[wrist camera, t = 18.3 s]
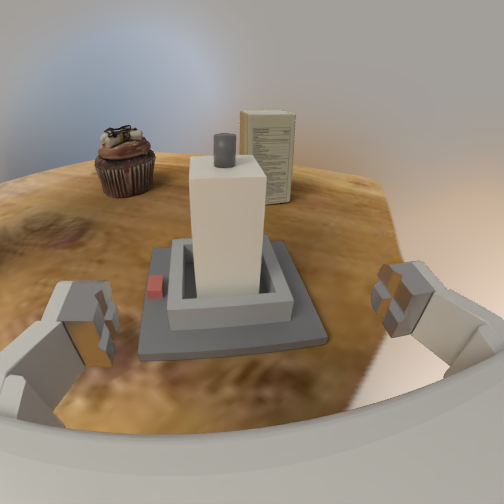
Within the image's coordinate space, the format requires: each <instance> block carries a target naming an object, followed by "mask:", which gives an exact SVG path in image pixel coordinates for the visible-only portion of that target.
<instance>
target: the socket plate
mask: <svg viewBox="0 0 504 504" xmlns="http://www.w3.org/2000/svg"><path fill="white" fill-rule="evenodd" d="M327 339H328V336H327V333H326V331H325V329H324V327H323V325H322V322H321V320H320V318H319V316H318V314H317V311H316V309H315V307H314V305H313V303H312V301H311V298H310V296H309V294H308V292H307V290H306V288H305V286H304V283H303V281H302V279H301V277H300V275H299V273H298V271H297V269H296V266H295V264H294V262H293V260H292V258H291V256H290V254H289V252H288V250H287V248H286V246H285V244H284V241H269V238H268V236H267V234H264V235H263V243H262V258H261V272H260V286H259V294H252V295H239V296H225V297H211V298H197V292H196V281H195V270H194V257H193V244H192V238H188V239H173V240H172V247H160V248H153V251H152V257H151V262H150V268H149V274H148V280H147V286H146V293H145V299H144V306H143V313H142V321H141V329H140V337H139V346H138V356H139V359H140V361H162V360H186V359H203V358H217V357H229V356H240V355H250V354H259V353H268V352H276V351H284V350H291V349H298V348H305V347H312V346H318V345H324V344H326V342H327Z"/></svg>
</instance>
